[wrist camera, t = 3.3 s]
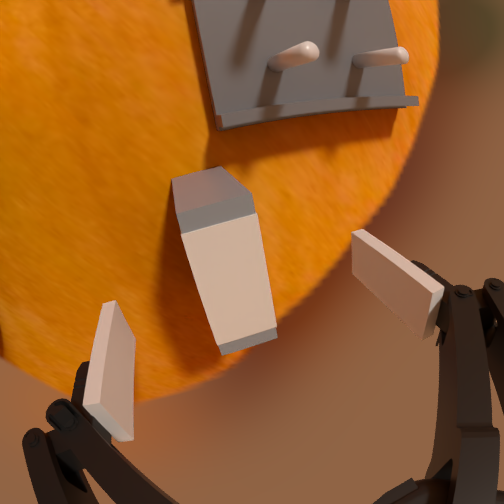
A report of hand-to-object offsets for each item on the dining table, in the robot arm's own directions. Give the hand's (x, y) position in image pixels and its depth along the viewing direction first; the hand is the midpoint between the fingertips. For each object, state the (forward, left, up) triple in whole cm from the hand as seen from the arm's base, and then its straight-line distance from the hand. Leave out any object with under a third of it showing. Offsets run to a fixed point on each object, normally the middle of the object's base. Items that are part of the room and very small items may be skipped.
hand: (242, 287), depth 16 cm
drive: (0, 0, -8) cm, 8 cm away
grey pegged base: (+10, +14, -8) cm, 19 cm away
